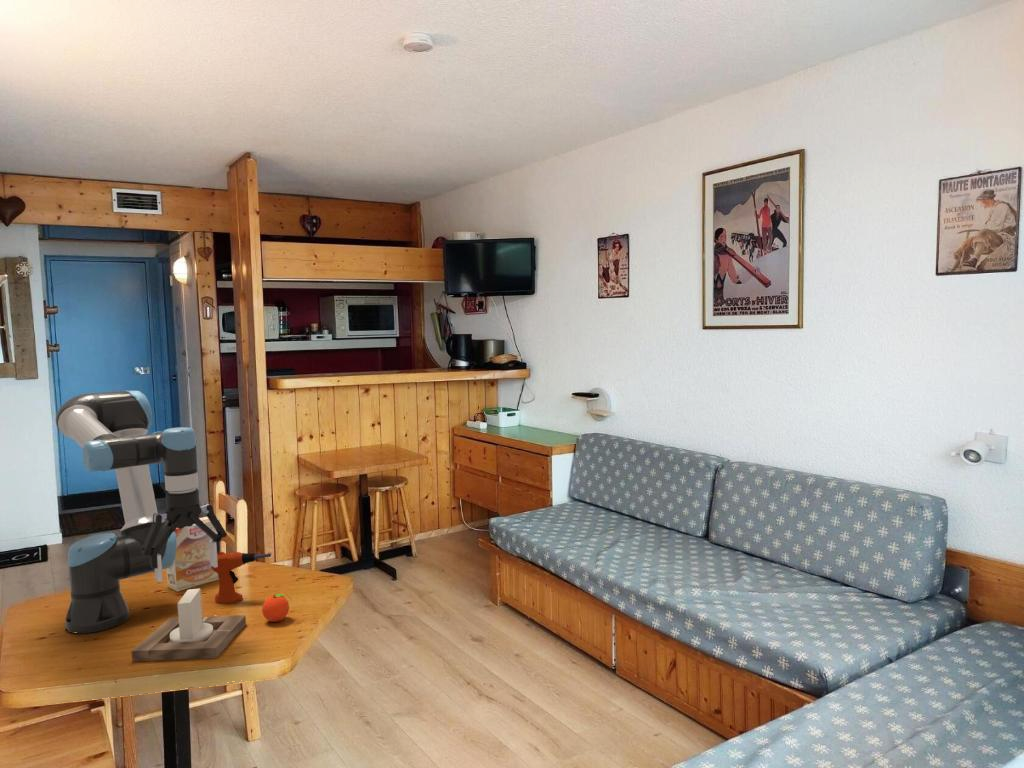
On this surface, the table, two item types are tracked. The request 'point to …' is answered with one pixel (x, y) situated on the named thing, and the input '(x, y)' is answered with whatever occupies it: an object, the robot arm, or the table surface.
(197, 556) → the coffeecake box
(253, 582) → the table surface
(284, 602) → the clementine
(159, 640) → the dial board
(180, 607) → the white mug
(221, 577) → the toy drill
